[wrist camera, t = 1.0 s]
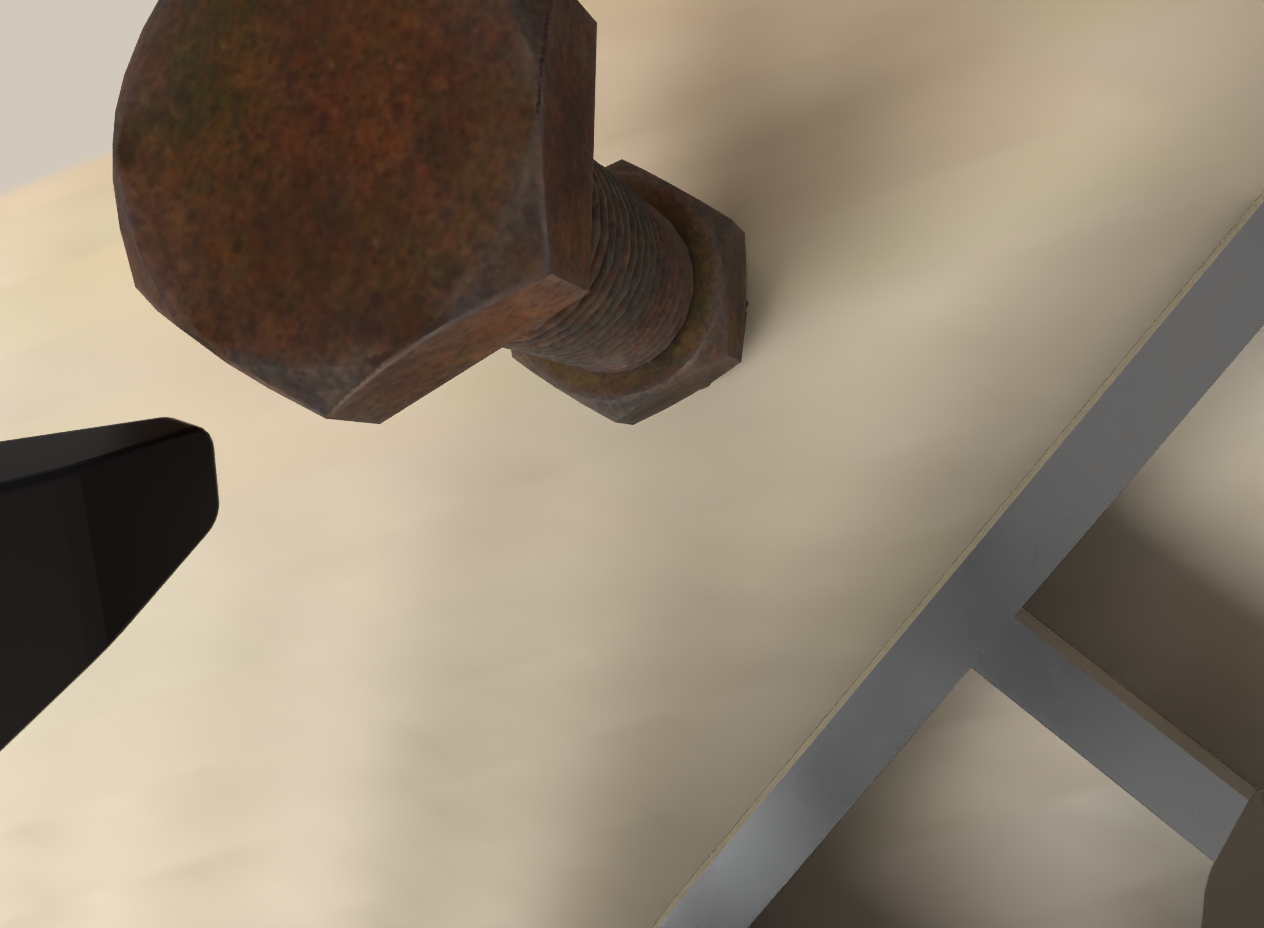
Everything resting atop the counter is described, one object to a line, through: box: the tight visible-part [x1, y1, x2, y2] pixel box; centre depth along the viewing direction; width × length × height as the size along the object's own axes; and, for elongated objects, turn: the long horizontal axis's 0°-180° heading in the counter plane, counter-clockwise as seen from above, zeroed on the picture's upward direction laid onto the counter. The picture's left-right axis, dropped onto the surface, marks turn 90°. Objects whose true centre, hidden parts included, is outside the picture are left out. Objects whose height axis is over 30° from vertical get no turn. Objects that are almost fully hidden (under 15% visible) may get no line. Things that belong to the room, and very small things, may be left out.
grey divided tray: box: [652, 192, 1264, 928], centre depth 21 cm, size 20×11×4 cm, turn 143°
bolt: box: [113, 0, 748, 425], centre depth 18 cm, size 6×5×15 cm
